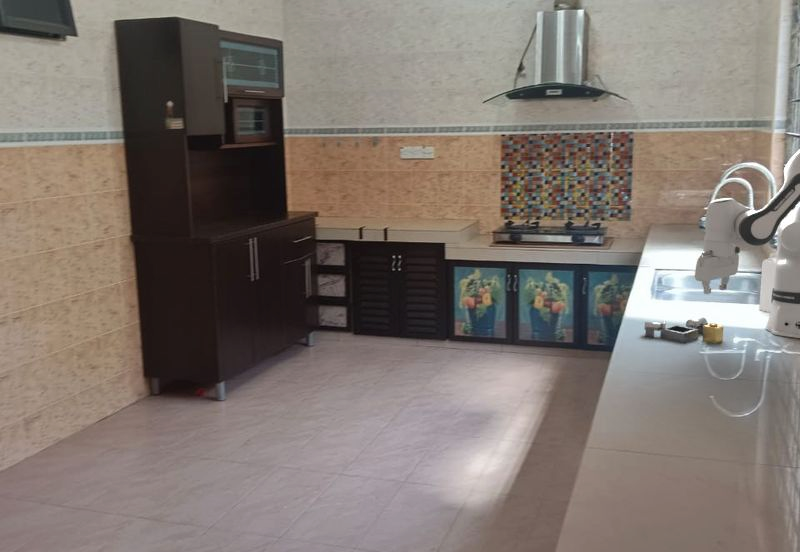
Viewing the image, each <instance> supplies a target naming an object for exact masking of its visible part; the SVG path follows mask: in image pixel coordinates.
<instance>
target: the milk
mask: <svg viewBox="0 0 800 552" xmlns="http://www.w3.org/2000/svg"><path fill="white" fill-rule="evenodd" d="M776 253H777V252H771V253H770V254H769V257H768V258H766V259H764V260H762V265H761V278H760V279H761V280H760V293H759V294H760V295H759V305H758V306H759V308H758V310H759V311H760V310H762V311H761V312H765V311H766V313H769V312H771V307H772V303H771V299H772V289H773V288H774V280H775V266H776Z"/></svg>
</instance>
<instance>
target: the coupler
mask: <svg viewBox="0 0 800 552" xmlns="http://www.w3.org/2000/svg"><path fill="white" fill-rule="evenodd" d="M701 338H702V342H706V343H711V344H717V343H720V342H723V338H724V325H720V324H717V323H711V322H710V323H708V325H705V326H703V333H702V337H701Z"/></svg>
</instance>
